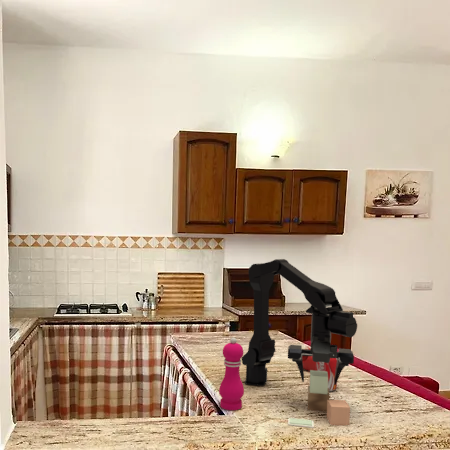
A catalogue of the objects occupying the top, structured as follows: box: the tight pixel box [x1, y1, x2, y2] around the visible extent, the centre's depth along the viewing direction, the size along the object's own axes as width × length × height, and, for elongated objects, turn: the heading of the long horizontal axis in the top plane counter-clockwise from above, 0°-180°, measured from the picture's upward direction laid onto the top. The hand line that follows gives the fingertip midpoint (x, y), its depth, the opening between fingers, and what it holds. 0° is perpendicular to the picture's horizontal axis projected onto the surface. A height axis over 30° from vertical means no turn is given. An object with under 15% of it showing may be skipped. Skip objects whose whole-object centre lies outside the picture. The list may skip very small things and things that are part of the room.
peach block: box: [326, 399, 351, 426], centre depth 132 cm, size 5×5×5 cm
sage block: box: [309, 370, 328, 394], centre depth 141 cm, size 5×5×5 cm
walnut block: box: [307, 385, 331, 413], centre depth 142 cm, size 6×6×5 cm
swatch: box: [287, 417, 315, 429], centre depth 130 cm, size 7×4×1 cm, turn 81°
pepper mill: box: [218, 337, 245, 411], centre depth 140 cm, size 7×7×20 cm
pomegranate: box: [302, 346, 316, 372], centre depth 177 cm, size 10×10×9 cm
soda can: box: [316, 358, 338, 393], centre depth 157 cm, size 7×7×12 cm
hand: (318, 383), depth 142 cm, fingers open, 9 cm apart
